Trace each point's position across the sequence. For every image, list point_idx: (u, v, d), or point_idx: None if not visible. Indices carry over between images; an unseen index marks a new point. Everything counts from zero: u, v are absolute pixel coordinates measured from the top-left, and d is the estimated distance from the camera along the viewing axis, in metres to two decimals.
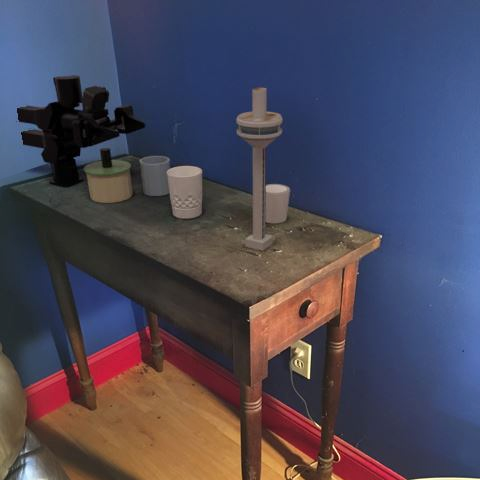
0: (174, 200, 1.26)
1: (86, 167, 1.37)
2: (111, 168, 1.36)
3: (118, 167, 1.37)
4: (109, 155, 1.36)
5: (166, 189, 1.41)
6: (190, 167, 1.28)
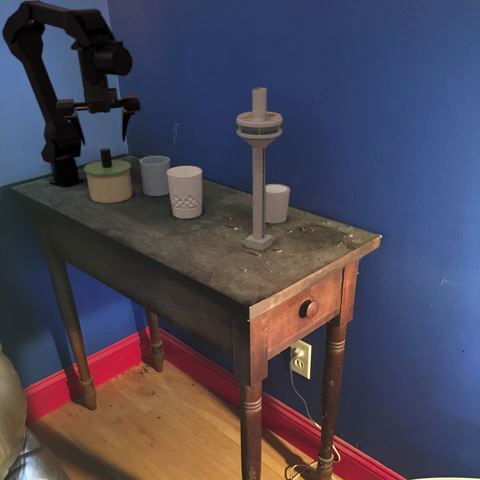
0: (174, 200, 1.26)
1: (86, 167, 1.37)
2: (111, 168, 1.36)
3: (118, 167, 1.37)
4: (109, 155, 1.36)
5: (166, 189, 1.41)
6: (190, 167, 1.28)
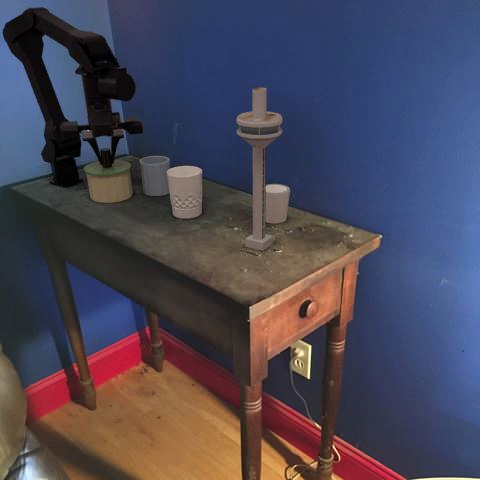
0: (174, 200, 1.26)
1: (86, 167, 1.37)
2: (111, 168, 1.36)
3: (118, 167, 1.37)
4: (109, 155, 1.36)
5: (166, 189, 1.41)
6: (190, 167, 1.28)
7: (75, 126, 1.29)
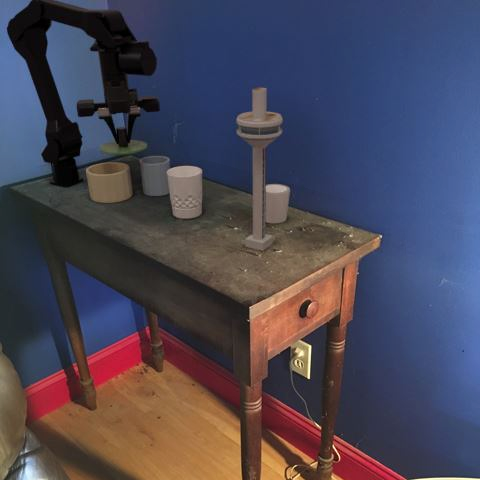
0: (174, 200, 1.26)
1: (102, 146, 1.36)
2: (127, 148, 1.34)
3: (134, 146, 1.35)
4: (125, 134, 1.34)
5: (166, 189, 1.41)
6: (190, 167, 1.28)
7: (91, 103, 1.27)
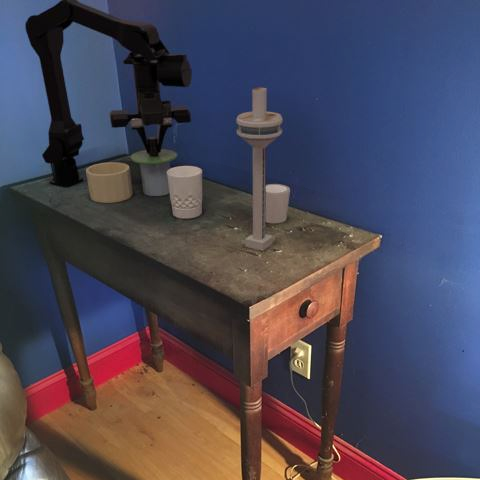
0: (174, 200, 1.26)
1: (133, 156, 1.39)
2: (158, 157, 1.37)
3: (165, 156, 1.38)
4: (156, 144, 1.37)
5: (166, 189, 1.41)
6: (190, 167, 1.28)
7: (125, 114, 1.30)
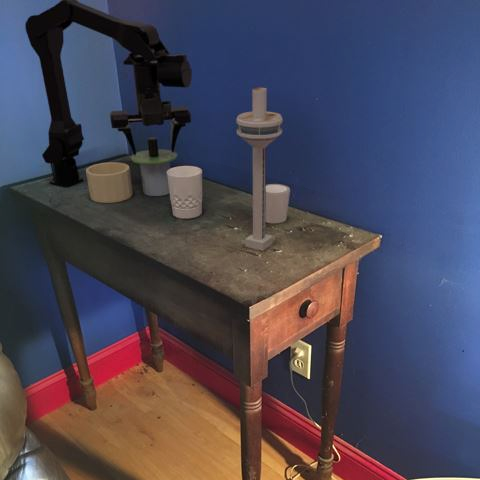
0: (174, 200, 1.26)
1: (133, 156, 1.39)
2: (158, 157, 1.37)
3: (165, 156, 1.38)
4: (156, 144, 1.37)
5: (166, 189, 1.41)
6: (190, 167, 1.28)
7: (125, 115, 1.30)
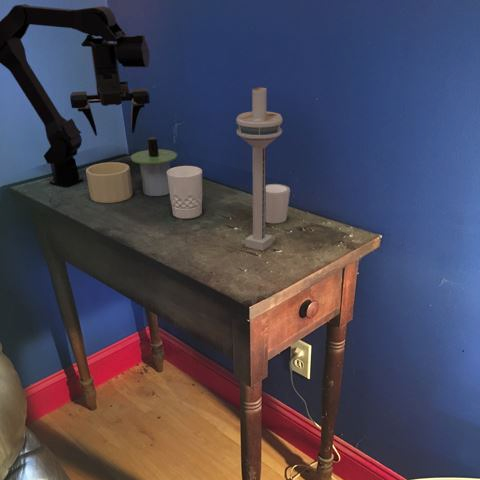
0: (174, 200, 1.26)
1: (133, 156, 1.39)
2: (158, 157, 1.37)
3: (165, 156, 1.38)
4: (156, 144, 1.37)
5: (166, 189, 1.41)
6: (190, 167, 1.28)
7: (84, 95, 1.34)
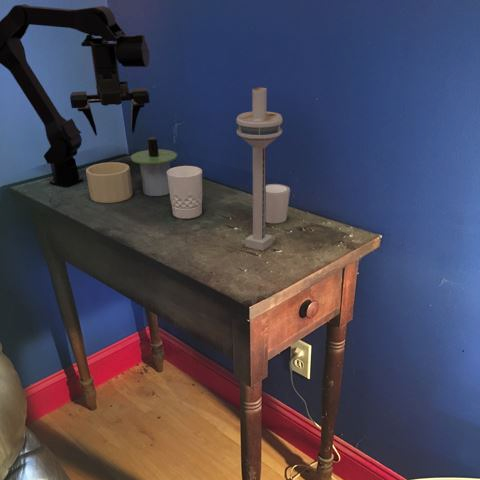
0: (174, 200, 1.26)
1: (133, 156, 1.39)
2: (158, 157, 1.37)
3: (165, 156, 1.38)
4: (156, 144, 1.37)
5: (166, 189, 1.41)
6: (190, 167, 1.28)
7: (84, 95, 1.34)
